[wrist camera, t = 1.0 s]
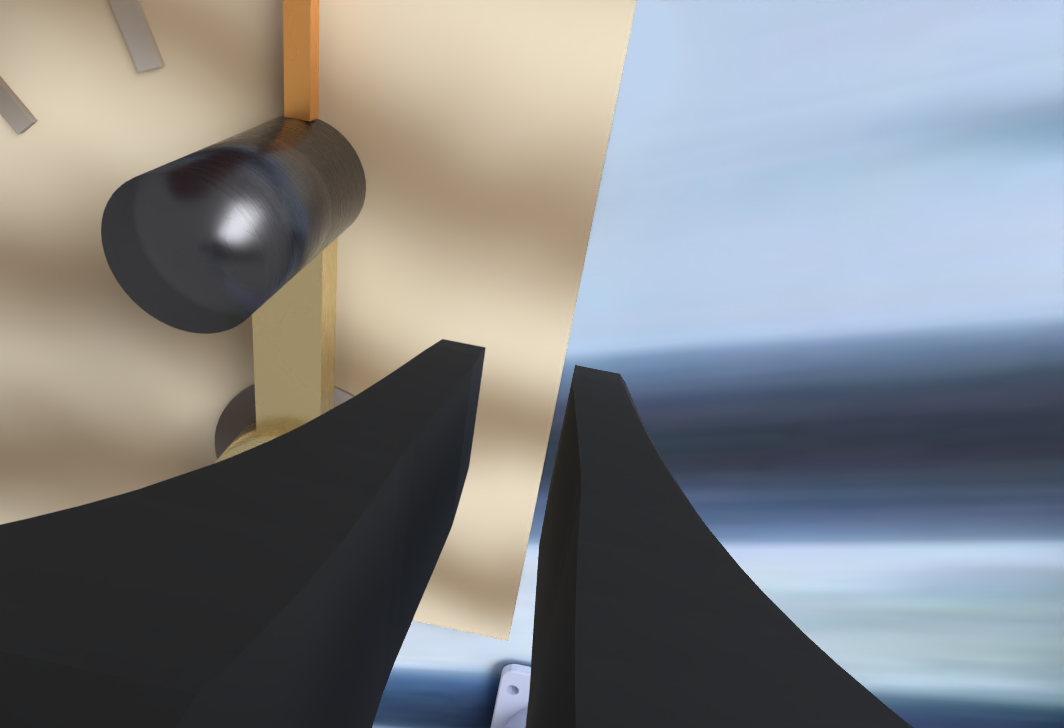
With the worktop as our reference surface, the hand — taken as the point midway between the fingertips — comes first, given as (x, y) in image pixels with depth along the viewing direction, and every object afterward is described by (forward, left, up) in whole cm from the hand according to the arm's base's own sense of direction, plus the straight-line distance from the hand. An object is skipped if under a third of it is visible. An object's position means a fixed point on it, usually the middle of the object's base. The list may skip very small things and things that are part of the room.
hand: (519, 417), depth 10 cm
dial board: (-5, +10, -10) cm, 15 cm away
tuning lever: (-3, +6, -8) cm, 11 cm away
